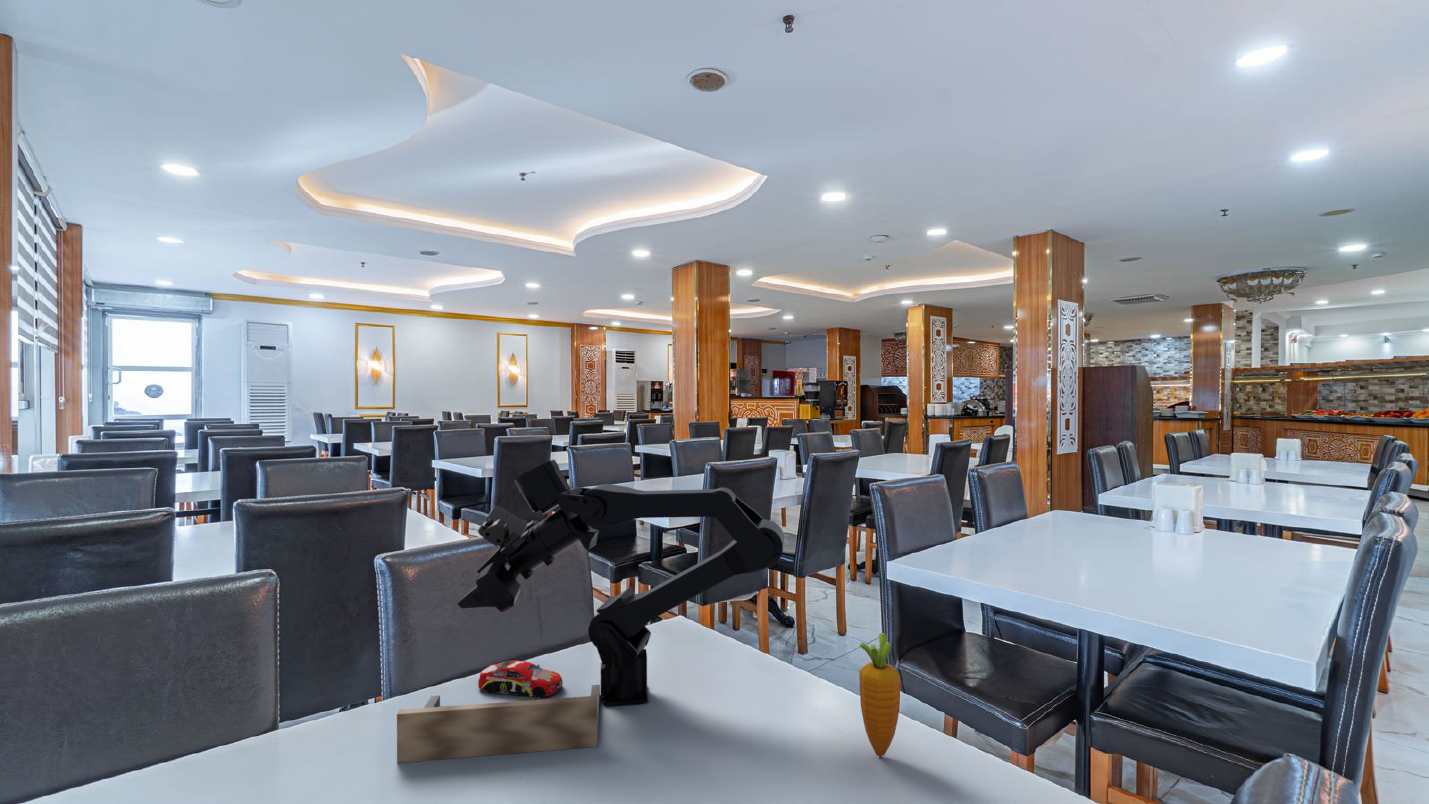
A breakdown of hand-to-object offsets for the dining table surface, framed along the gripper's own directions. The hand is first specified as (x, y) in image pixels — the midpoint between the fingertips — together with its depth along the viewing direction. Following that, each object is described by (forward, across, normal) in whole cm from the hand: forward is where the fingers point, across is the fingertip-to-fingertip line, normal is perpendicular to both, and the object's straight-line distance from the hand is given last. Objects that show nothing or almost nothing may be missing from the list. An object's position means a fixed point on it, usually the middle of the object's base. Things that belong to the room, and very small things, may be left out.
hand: (469, 588), depth 102 cm
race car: (+1, +6, +17) cm, 18 cm away
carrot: (-44, +26, +40) cm, 64 cm away
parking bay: (-2, +17, +15) cm, 22 cm away
